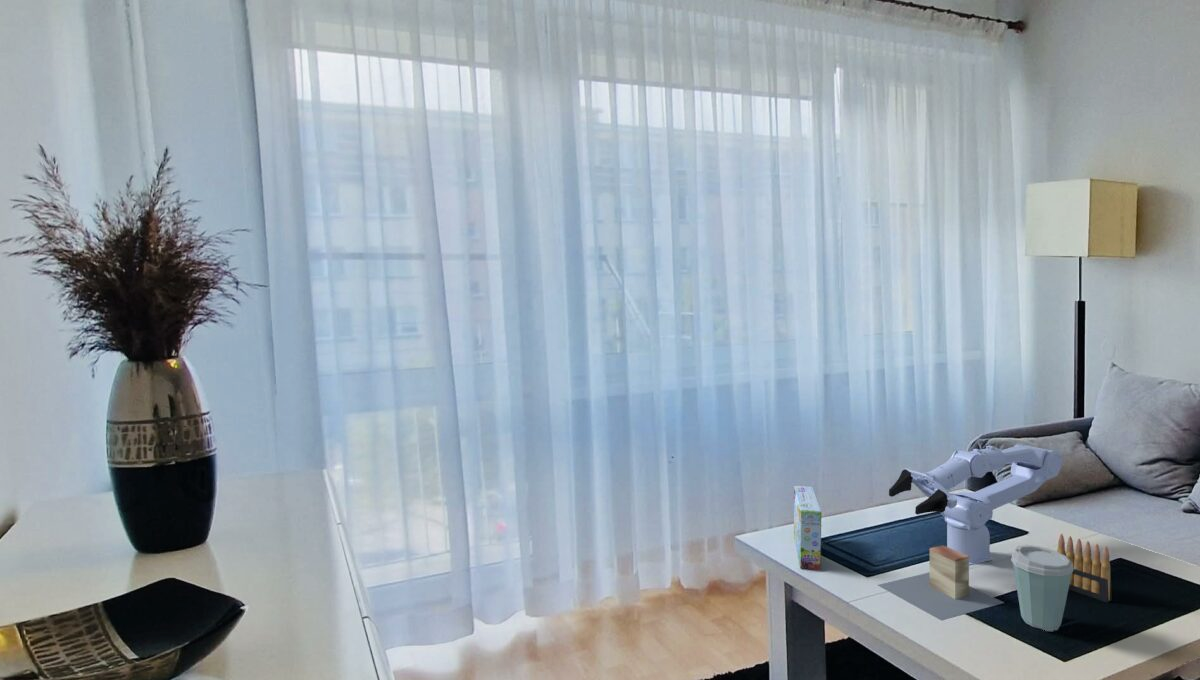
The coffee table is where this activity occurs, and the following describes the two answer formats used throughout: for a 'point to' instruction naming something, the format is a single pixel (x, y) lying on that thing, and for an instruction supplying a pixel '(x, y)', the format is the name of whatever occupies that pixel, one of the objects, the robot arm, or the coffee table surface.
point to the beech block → (949, 571)
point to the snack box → (807, 527)
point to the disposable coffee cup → (1041, 585)
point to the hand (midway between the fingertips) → (903, 501)
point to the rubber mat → (938, 597)
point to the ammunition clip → (1088, 570)
